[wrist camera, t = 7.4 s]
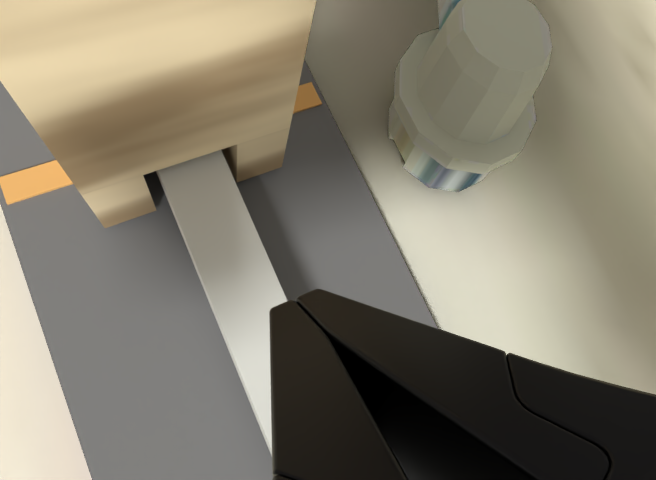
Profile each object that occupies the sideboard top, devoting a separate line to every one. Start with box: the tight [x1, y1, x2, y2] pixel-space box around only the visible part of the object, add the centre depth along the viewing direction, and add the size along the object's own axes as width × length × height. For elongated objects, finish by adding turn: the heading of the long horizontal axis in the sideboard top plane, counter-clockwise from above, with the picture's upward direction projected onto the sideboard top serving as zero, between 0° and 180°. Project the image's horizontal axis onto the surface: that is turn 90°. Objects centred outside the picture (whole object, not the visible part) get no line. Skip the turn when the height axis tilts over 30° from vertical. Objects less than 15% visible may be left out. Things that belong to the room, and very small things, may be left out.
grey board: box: [0, 59, 437, 480], centre depth 17 cm, size 30×12×4 cm, turn 25°
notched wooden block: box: [0, 0, 316, 228], centre depth 13 cm, size 5×6×12 cm
